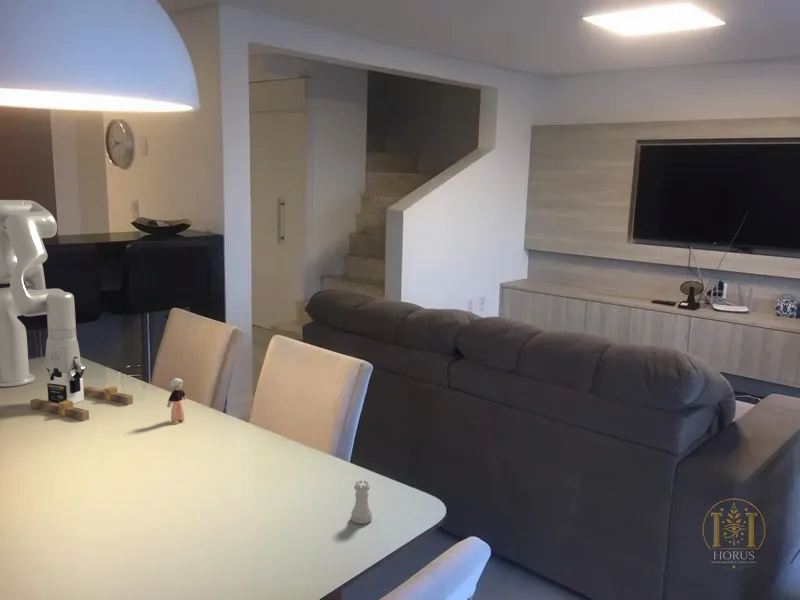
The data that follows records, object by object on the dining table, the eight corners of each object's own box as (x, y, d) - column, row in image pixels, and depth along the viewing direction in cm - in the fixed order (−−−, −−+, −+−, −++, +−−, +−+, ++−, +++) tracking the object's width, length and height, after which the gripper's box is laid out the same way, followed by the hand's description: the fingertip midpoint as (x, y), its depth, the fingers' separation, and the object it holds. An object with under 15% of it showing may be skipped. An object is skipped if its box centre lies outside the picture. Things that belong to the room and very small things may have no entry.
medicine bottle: (47, 404, 208) (45, 365, 206) (65, 397, 215) (63, 360, 213) (67, 407, 206) (65, 368, 204) (84, 400, 213) (82, 362, 211)
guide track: (29, 408, 204) (28, 395, 203) (83, 392, 221) (82, 380, 220) (81, 421, 194) (80, 407, 194) (134, 403, 211) (133, 390, 211)
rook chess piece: (360, 512, 145) (361, 476, 144) (376, 519, 142) (377, 482, 141) (346, 519, 142) (346, 483, 140) (362, 527, 139) (362, 489, 137)
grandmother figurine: (178, 426, 192) (176, 382, 190) (165, 425, 193) (163, 381, 191) (190, 417, 200) (189, 374, 198) (178, 416, 201) (177, 374, 198)
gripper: (31, 332, 207) (35, 388, 210) (71, 339, 200) (75, 397, 203) (53, 328, 214) (56, 382, 217) (93, 334, 206) (96, 391, 209)
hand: (65, 389), depth 210 cm, fingers closed on medicine bottle, 7 cm apart
